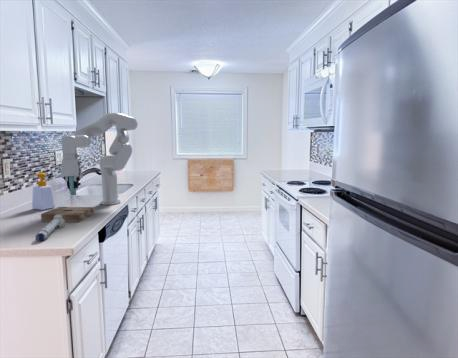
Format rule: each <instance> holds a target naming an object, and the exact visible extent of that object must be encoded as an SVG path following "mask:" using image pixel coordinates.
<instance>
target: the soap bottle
mask: <svg viewBox="0 0 458 358" xmlns="http://www.w3.org/2000/svg"><path fill="white" fill-rule="evenodd" d="M33 176H37V178H39V180H38V181H37V185H34V186H33V187H32V200H31V201H32V202H31V208H32V209H33V210H39V211H45V210H46V211H47V210H51V209H55V208H56V203H55V199H54V198H55V197H54V192H53V187H52V186H51V185H48V184H47V180H44V178H46V176H47V173H45V172H39V173H35V174H31V175H28V176H27V175H26V177H27V178H30V177H33Z"/></svg>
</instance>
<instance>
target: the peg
mask: <svg viewBox="0 0 458 358" xmlns="http://www.w3.org/2000/svg"><path fill="white" fill-rule="evenodd" d="M69 185H70V188H69V194H70V196H77V188H74V176H69Z"/></svg>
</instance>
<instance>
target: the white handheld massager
mask: <svg viewBox="0 0 458 358" xmlns="http://www.w3.org/2000/svg"><path fill="white" fill-rule="evenodd" d="M65 223H66V222H65V220H64V219H63V218H62V215H60V214H58V215H55V216H54V219H53V220H52V221H51V222H48V224H46V225H45V226H44V227H43V228H42V229H40V230H39V231H38V232H37V234H36V235H35V240H36V241H37V242H44V241H45V240H46V238H47V239H48V238H49V236H50V235H51V233H52V232H53V230H55V229H60V228H64V226H65Z"/></svg>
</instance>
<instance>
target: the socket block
mask: <svg viewBox="0 0 458 358" xmlns="http://www.w3.org/2000/svg"><path fill="white" fill-rule="evenodd" d="M94 213H95V212H94V206H93V207H92V206H57V207H54V208H51V209H49V210H48V211H47V210H46V211H45V212H42V213H40V220H41V222H43V223H44V222H47V223H50V222H51V221H52V220H53V219H54V216H55V215H58V214H60V215H62V218H63V219H64V220H65V222H64V223H80V222H82V221H84V220H86V219H88V218H89V217H91V216H93V215H94Z"/></svg>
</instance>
